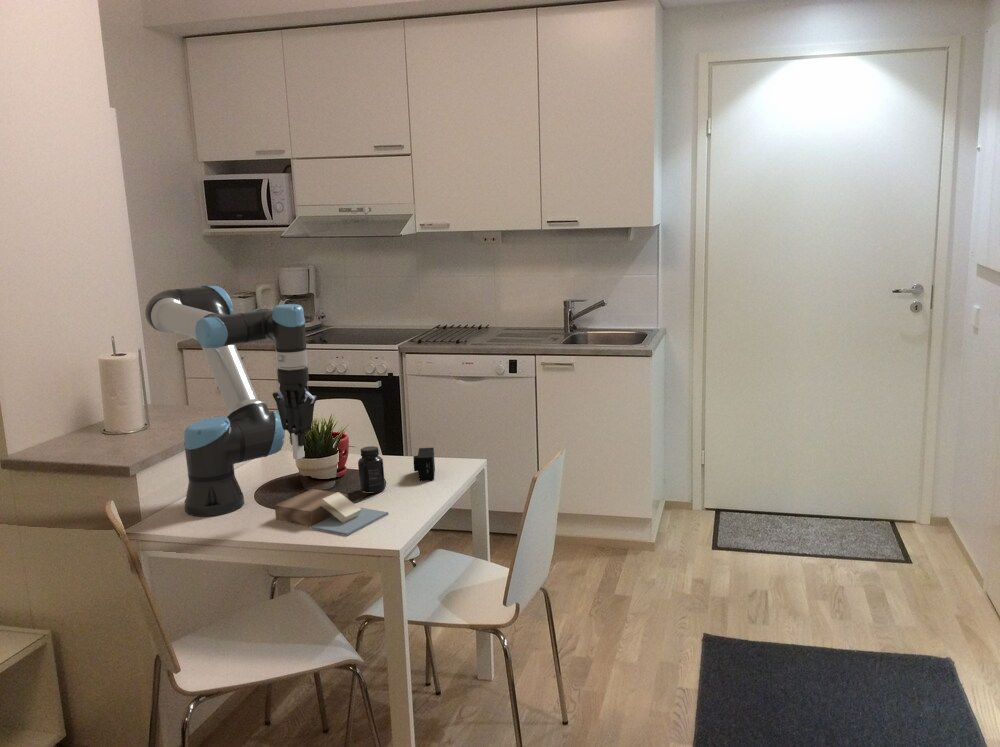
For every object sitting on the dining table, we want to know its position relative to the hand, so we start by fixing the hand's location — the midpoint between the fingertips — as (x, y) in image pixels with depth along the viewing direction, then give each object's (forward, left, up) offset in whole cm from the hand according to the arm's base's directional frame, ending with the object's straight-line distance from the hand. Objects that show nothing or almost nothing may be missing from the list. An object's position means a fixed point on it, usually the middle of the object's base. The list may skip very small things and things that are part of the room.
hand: (299, 457), depth 228 cm
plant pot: (-16, +28, -15) cm, 35 cm away
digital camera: (+11, +39, -15) cm, 43 cm away
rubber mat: (+16, 0, -15) cm, 21 cm away
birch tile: (+12, 0, -12) cm, 17 cm away
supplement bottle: (+5, +22, -15) cm, 27 cm away
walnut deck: (+3, 0, -15) cm, 15 cm away
